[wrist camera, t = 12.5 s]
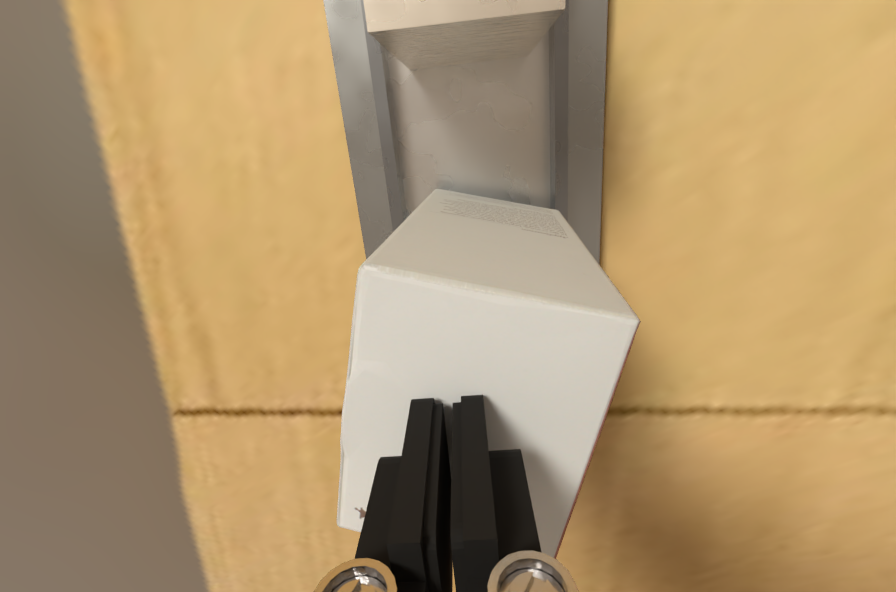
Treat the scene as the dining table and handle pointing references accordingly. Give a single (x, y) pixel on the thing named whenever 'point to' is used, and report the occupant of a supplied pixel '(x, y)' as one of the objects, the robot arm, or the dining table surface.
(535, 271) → the small box
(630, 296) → the dining table surface
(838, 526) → the dining table surface
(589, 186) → the rail board
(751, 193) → the dining table surface
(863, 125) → the dining table surface
